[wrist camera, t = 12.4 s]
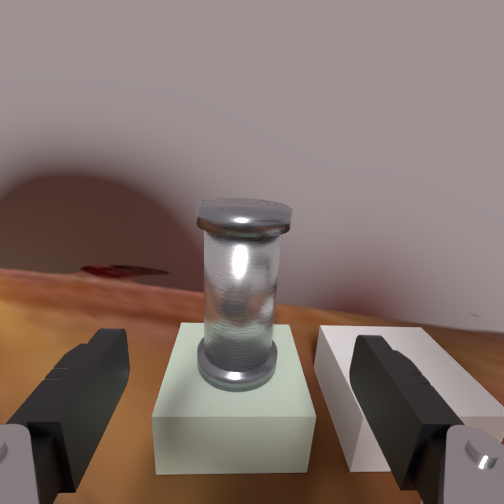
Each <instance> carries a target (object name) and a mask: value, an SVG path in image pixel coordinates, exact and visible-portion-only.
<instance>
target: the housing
mask: <svg viewBox="0 0 504 504" xmlns="http://www.w3.org/2000/svg"><path fill="white" fill-rule="evenodd" d="M291 216H292V208H291V207H289V206H287V205H284V204H281V203H277V202H272V201H266V200H257V199H245V198H217V199H208V200H203V201H200V202H198V203H197V204H196V224H197V226H198V227H199V228H201V229H202V230H204V337H203V338H202V340H201V341H200V343H199V345H198V348H197V367H198V371H199V373H200V375H201V377H202V378H203V379H204V380H205V381H206V382H207V383H208V384H210V385H211V386H213V387H215V388H217V389H220V390H223V391H228V392H247V391H251V390H255V389H257V388H260V387H261V386H263V385H265V384H266V383H267V382H269V381H270V380H271V378H272V377H273V375H274V373H275V370H276V363H277V353H278V352H277V347H276V344H275V342H274V341H273V340H272V334H273V324H274V313H275V302H276V291H277V281H278V270H279V259H280V248H281V237H282V234H284V233H286V232H288V231H289V230H290V226H291Z"/></svg>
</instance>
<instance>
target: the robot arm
mask: <svg viewBox="0 0 504 504" xmlns="http://www.w3.org/2000/svg"><path fill="white" fill-rule="evenodd" d="M129 371H130V365H129V354H128V344H127V334H126V331H125V329H104V328H101V329H99V330H98V331H97V332H96V333H95V335H94V336H93V337H92V338H91V340H90V341H89V342H88V344H80V345H78V346H77V347H75V348H74V349H72V350H71V351H69V352H68V353H66V354H65V355H64V356H63V357H62V358H61V359H60V361H59V362H58V363H57V364H56V365H55V367H54V369H52V370H51V371H50V372H49V374H48V375H47V376H46V377H45V380H43V381H42V382H41V383H40V384H39V385H38V386H37V388H36V389H35V390H34V391H33V392H32V393H31V395H30V396H29V397H28V398H27V399H26V401H25V402H24V403H23V404H22V405H21V406H20V408H19V409H18V410H17V411H16V412H15V413H14V415H13V416H12V417H11V418H10V419H9V420H8V422H7V423H6V424H5V425H1V426H0V504H53V502H54V500H55V498H56V497H57V495H58V493H75V492H76V490H77V488H78V486H79V484H80V482H81V480H82V478H83V475H84V473H85V471H86V469H87V467H88V465H89V463H90V461H91V459H92V457H93V454H94V452H95V450H96V448H97V446H98V444H99V442H100V440H101V438H102V436H103V434H104V431H105V429H106V427H107V425H108V423H109V421H110V419H111V417H112V415H113V413H114V410H115V408H116V406H117V404H118V402H119V400H120V398H121V396H122V394H123V392H124V389H125V387H126V385H127V382H128V378H129ZM349 379H350V385H351V388H352V390H353V393H354V395H355V397H356V399H357V401H358V403H359V405H360V407H361V409H362V411H363V413H364V415H365V417H366V420H367V422H368V424H369V426H370V428H371V430H372V432H373V434H374V436H375V438H376V440H377V442H378V445H379V447H380V449H381V451H382V453H383V455H384V457H385V459H386V461H387V463H388V465H389V467H390V470H391V472H392V474H393V476H394V478H395V480H396V482H397V484H398V486H399V488H400V490H417V491H418V493H419V495H420V497H421V499H422V501H421V503H420V504H504V445H503V444H501V443H500V442H499V441H498V440H496V439H495V438H494V437H492V436H490V435H489V434H487V433H485V432H483V431H481V430H479V429H477V428H474V427H471V426H466V425H465V424H464V423H463V422H462V421H461V419H460V418H459V417H458V416H457V415H456V413H455V412H454V411H453V410H452V409H451V407H450V406H449V405H448V404H447V403H446V401H445V400H444V399H443V398H442V397H441V395H440V394H439V393H438V392H437V391H436V389H435V388H434V387H433V386H431V385H430V382H429V381H428V380H427V379H426V377H425V376H424V375H422V373H421V371H420V370H419V369H418V368H417V366H416V365H415V364H414V363H413V362H412V361H411V360H410V359H409V358H407V357H406V356H404V355H403V354H402V353H400V352H399V351H398V350H393V349H392V348H391V346H390V345H389V344H388V343H387V341H386V340H385V339H384V338H383V337H382V336H381V335H358V336H357V338H356V341H355V345H354V350H353V355H352V360H351V365H350V370H349Z"/></svg>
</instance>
